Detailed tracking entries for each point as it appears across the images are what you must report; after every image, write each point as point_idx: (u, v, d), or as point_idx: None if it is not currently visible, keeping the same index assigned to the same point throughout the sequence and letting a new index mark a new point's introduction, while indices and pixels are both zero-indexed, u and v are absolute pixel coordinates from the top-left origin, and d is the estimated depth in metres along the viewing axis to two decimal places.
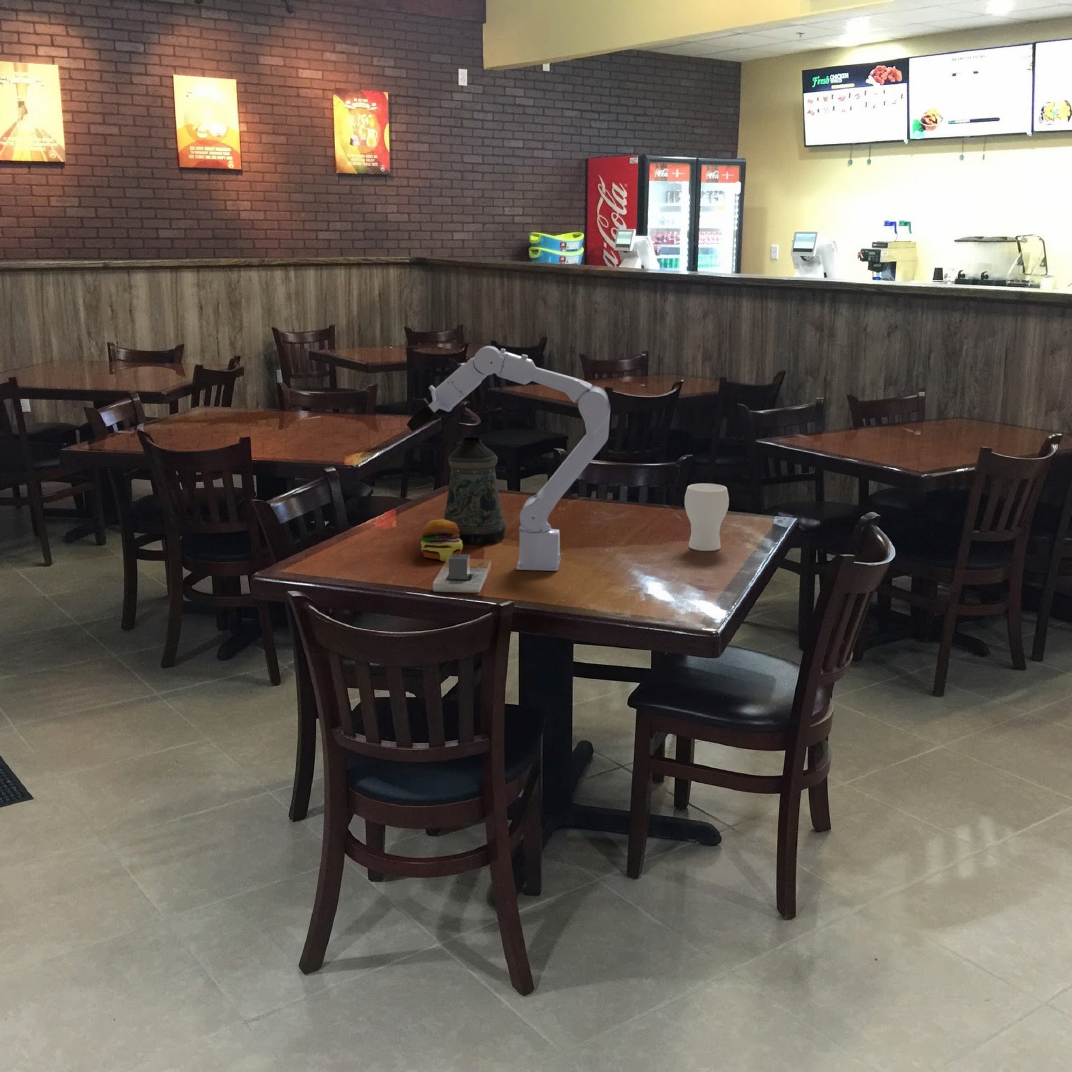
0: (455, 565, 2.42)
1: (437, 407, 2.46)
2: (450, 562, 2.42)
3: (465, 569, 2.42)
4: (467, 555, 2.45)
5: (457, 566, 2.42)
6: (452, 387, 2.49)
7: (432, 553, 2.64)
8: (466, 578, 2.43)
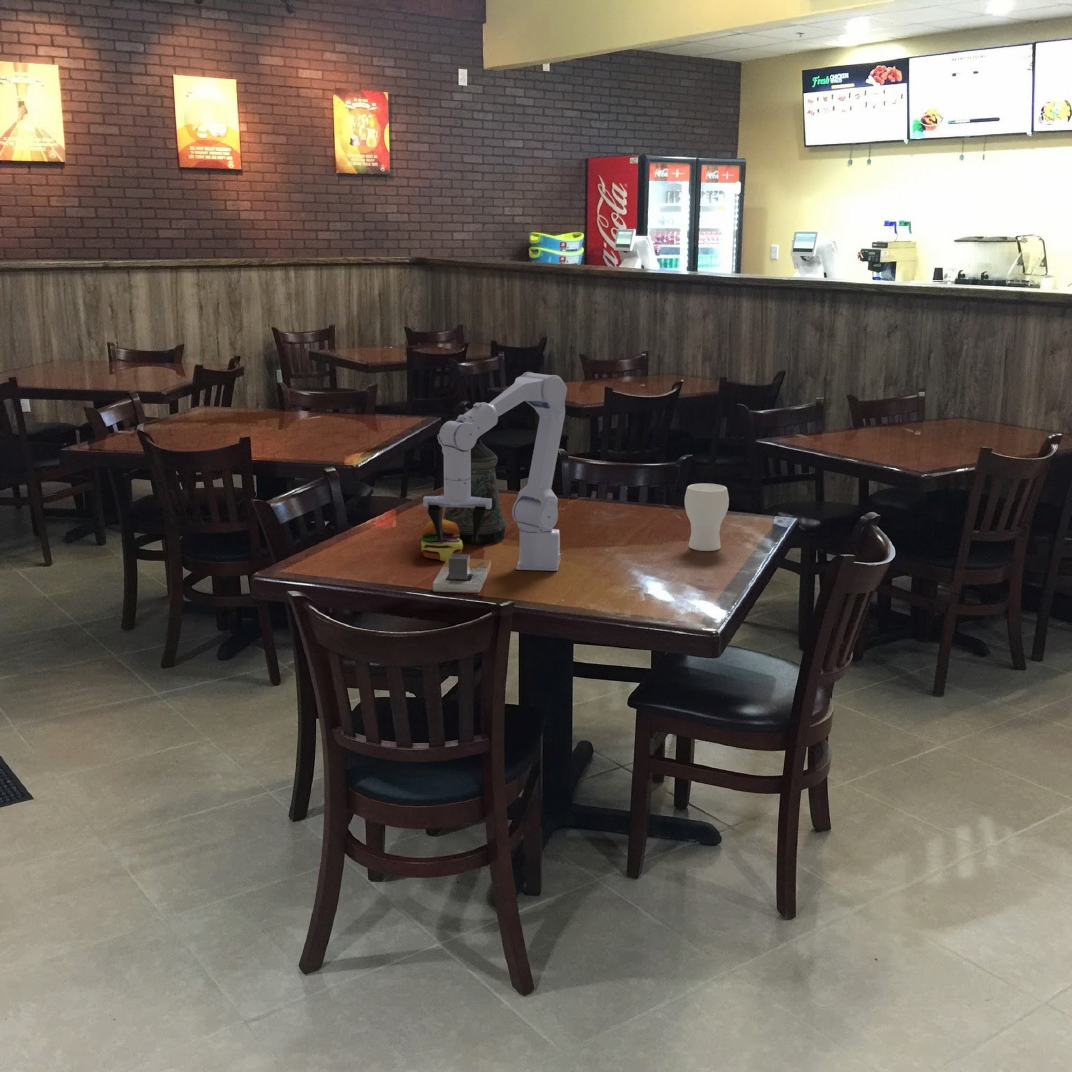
0: (455, 565, 2.42)
1: (491, 501, 2.41)
2: (450, 562, 2.42)
3: (465, 569, 2.42)
4: (467, 555, 2.45)
5: (457, 566, 2.42)
6: (469, 481, 2.39)
7: (432, 553, 2.64)
8: (466, 578, 2.43)
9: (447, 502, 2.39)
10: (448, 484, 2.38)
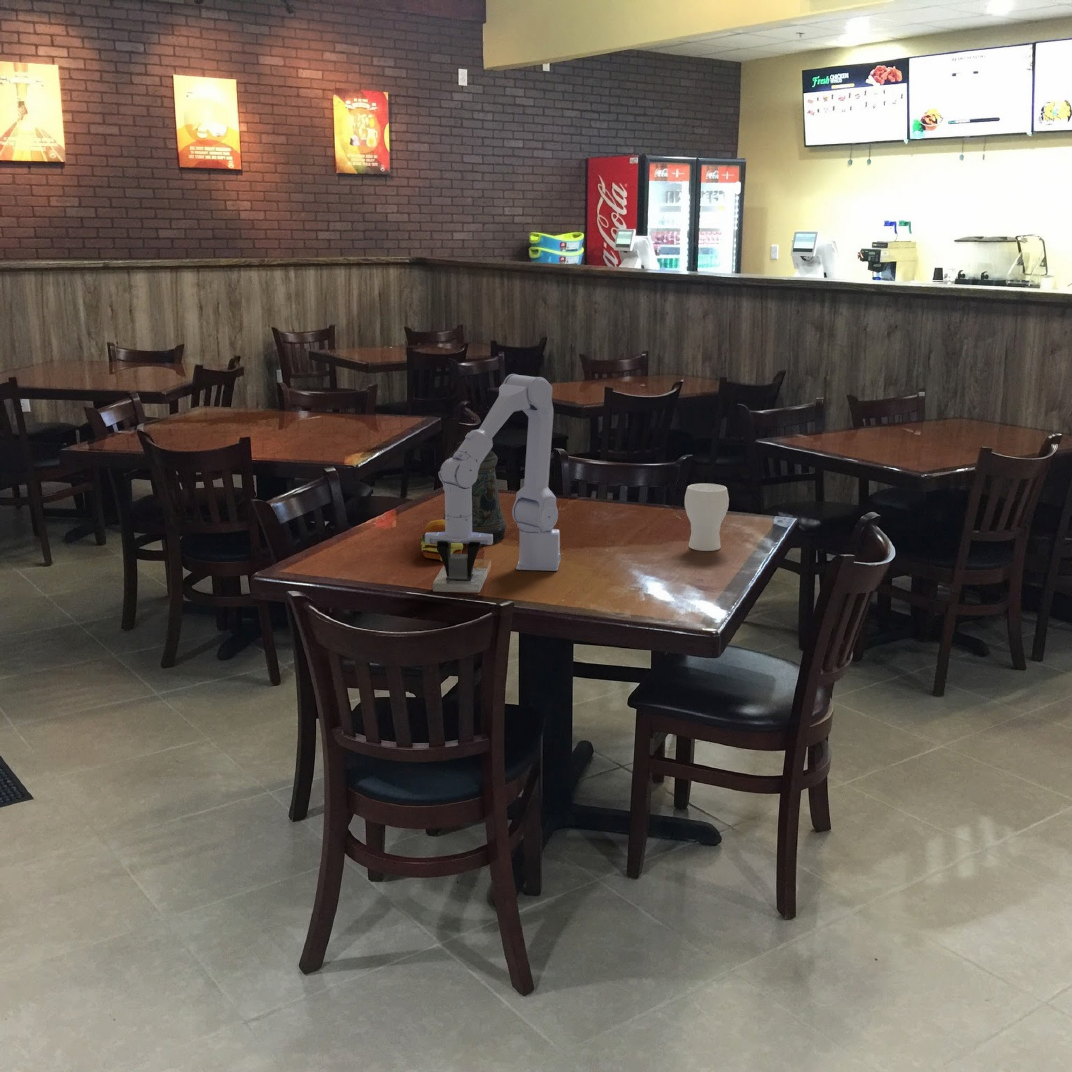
0: (455, 565, 2.42)
1: (492, 537, 2.43)
2: (450, 562, 2.42)
3: (465, 569, 2.42)
4: (467, 555, 2.45)
5: (457, 566, 2.42)
6: (471, 517, 2.41)
7: (432, 553, 2.64)
8: (466, 578, 2.43)
9: (449, 539, 2.40)
10: (450, 521, 2.40)
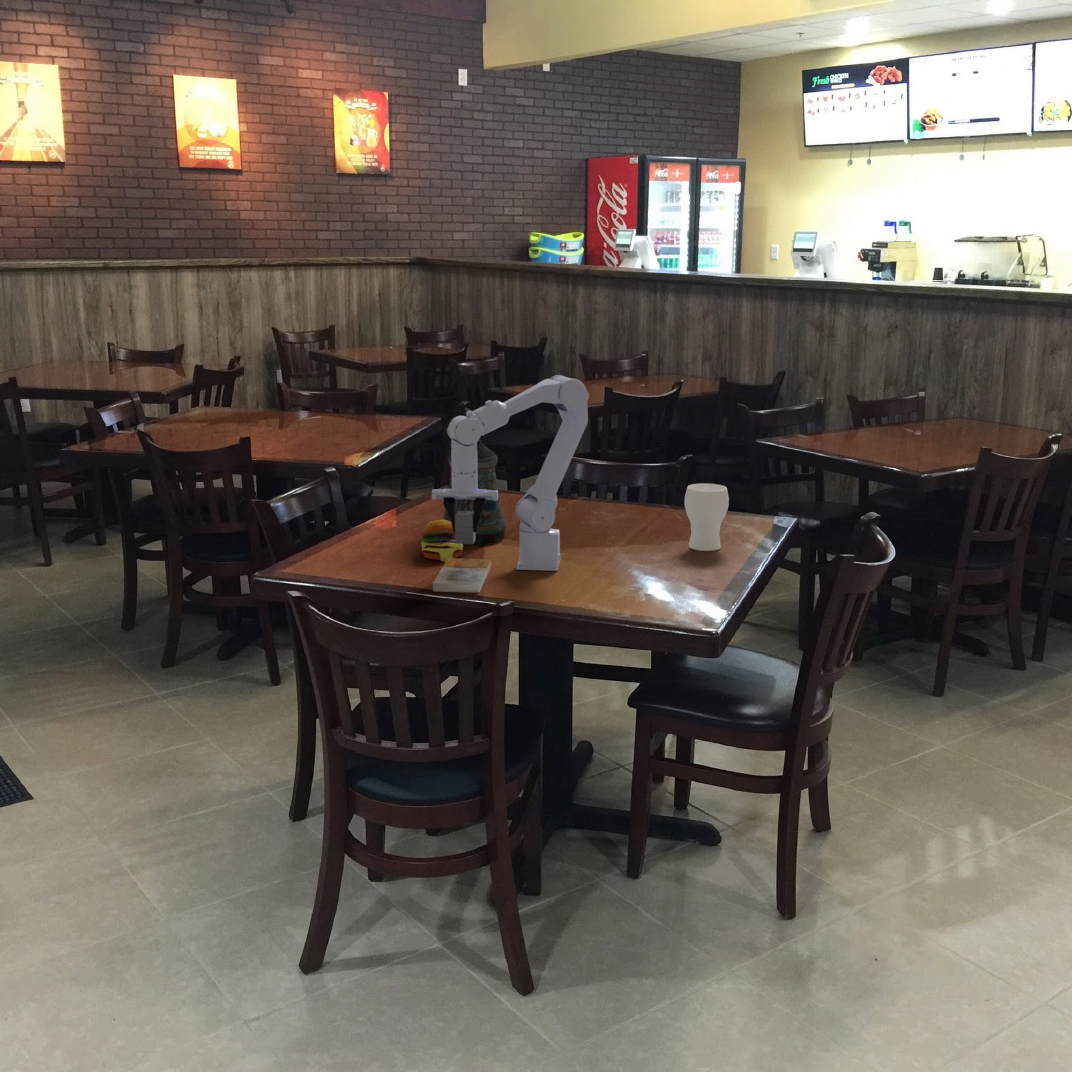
0: (461, 521, 2.49)
1: (497, 493, 2.50)
2: (456, 518, 2.49)
3: (471, 525, 2.49)
4: (473, 512, 2.52)
5: (463, 522, 2.49)
6: (476, 474, 2.48)
7: (432, 553, 2.64)
8: (472, 534, 2.50)
9: (455, 494, 2.47)
10: (456, 477, 2.47)
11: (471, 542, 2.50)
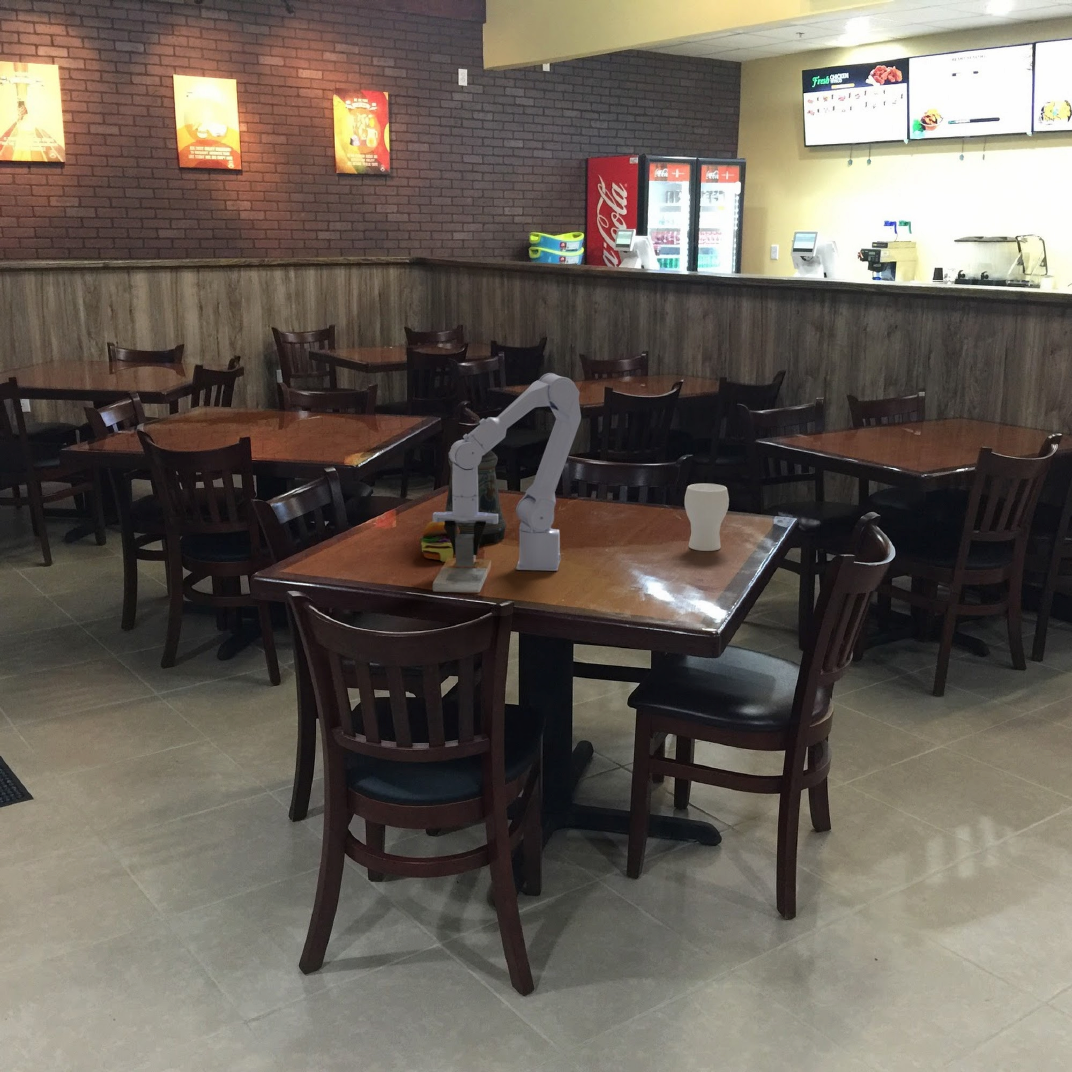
0: (462, 544, 2.51)
1: None
2: (457, 541, 2.51)
3: (471, 548, 2.51)
4: (473, 535, 2.54)
5: (464, 545, 2.51)
6: (477, 497, 2.50)
7: (432, 554, 2.64)
8: (472, 557, 2.52)
9: (456, 518, 2.50)
10: (457, 501, 2.49)
11: (471, 565, 2.52)
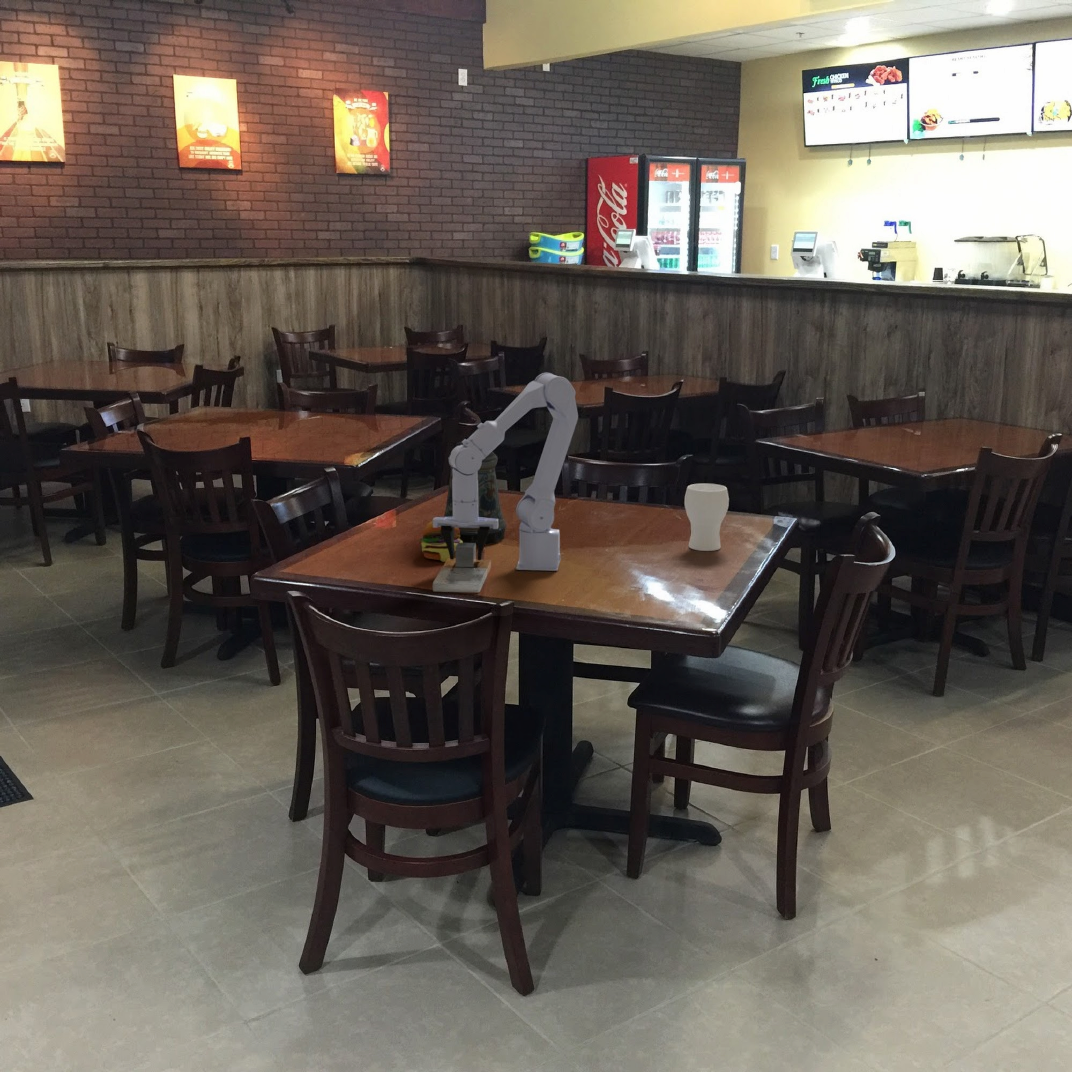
0: (462, 553, 2.52)
1: None
2: (457, 550, 2.52)
3: (471, 557, 2.52)
4: (473, 544, 2.54)
5: (464, 554, 2.52)
6: (477, 502, 2.50)
7: (433, 554, 2.63)
8: (472, 566, 2.52)
9: (456, 523, 2.50)
10: (457, 506, 2.49)
11: None
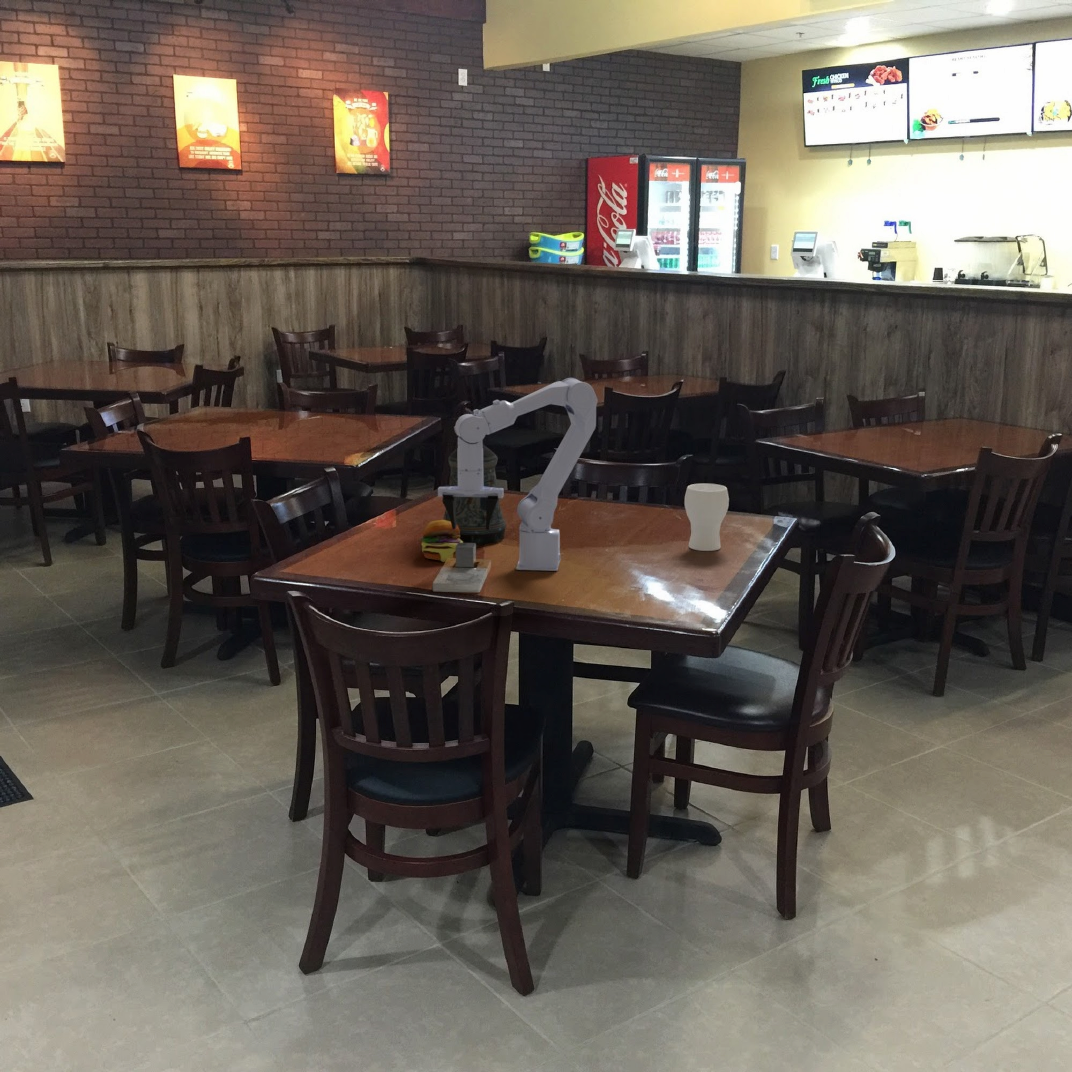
0: (462, 553, 2.52)
1: (503, 491, 2.52)
2: (457, 550, 2.52)
3: (471, 557, 2.52)
4: (473, 544, 2.54)
5: (464, 554, 2.52)
6: (482, 471, 2.50)
7: (433, 554, 2.63)
8: (472, 566, 2.52)
9: (461, 492, 2.50)
10: (462, 475, 2.49)
11: None
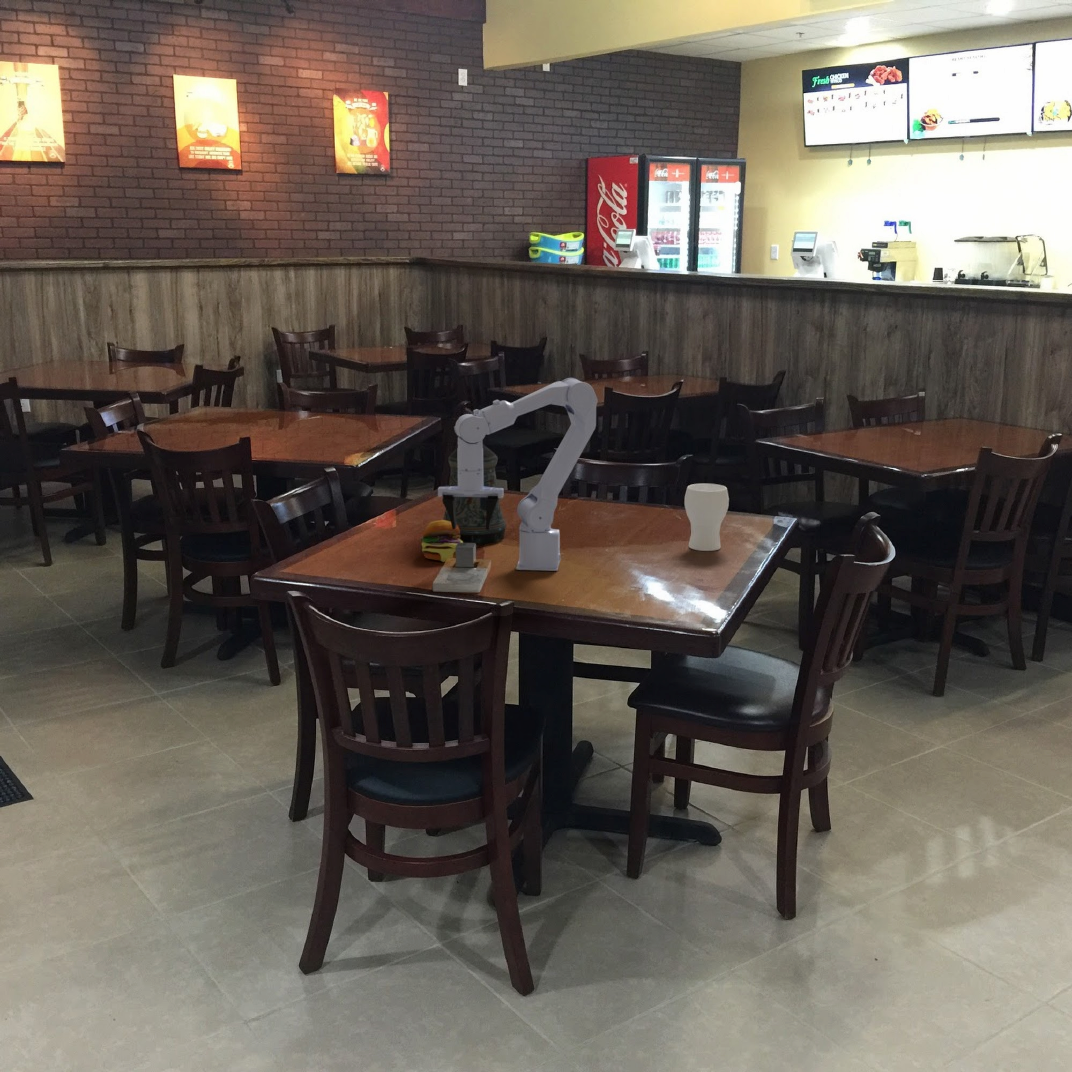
0: (462, 553, 2.52)
1: (503, 491, 2.52)
2: (457, 550, 2.52)
3: (471, 557, 2.52)
4: (473, 544, 2.54)
5: (464, 554, 2.52)
6: (482, 471, 2.50)
7: (433, 554, 2.63)
8: (472, 566, 2.52)
9: (461, 492, 2.50)
10: (462, 475, 2.49)
11: None
